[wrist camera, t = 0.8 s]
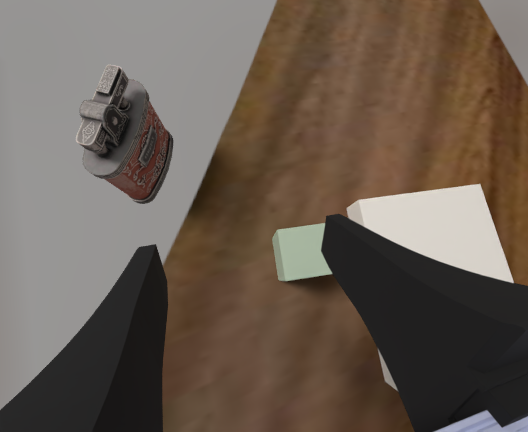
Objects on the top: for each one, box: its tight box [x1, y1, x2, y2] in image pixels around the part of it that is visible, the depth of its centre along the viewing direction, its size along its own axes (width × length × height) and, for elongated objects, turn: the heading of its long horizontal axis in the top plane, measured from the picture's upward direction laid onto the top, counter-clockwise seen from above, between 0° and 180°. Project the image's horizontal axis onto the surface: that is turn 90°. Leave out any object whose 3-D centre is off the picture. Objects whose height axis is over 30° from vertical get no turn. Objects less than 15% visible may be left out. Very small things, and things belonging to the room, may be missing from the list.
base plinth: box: [347, 184, 514, 391], centre depth 24 cm, size 16×12×3 cm
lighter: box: [76, 65, 173, 204], centre depth 22 cm, size 8×3×10 cm, turn 168°
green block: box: [272, 223, 332, 281], centre depth 23 cm, size 4×4×5 cm
